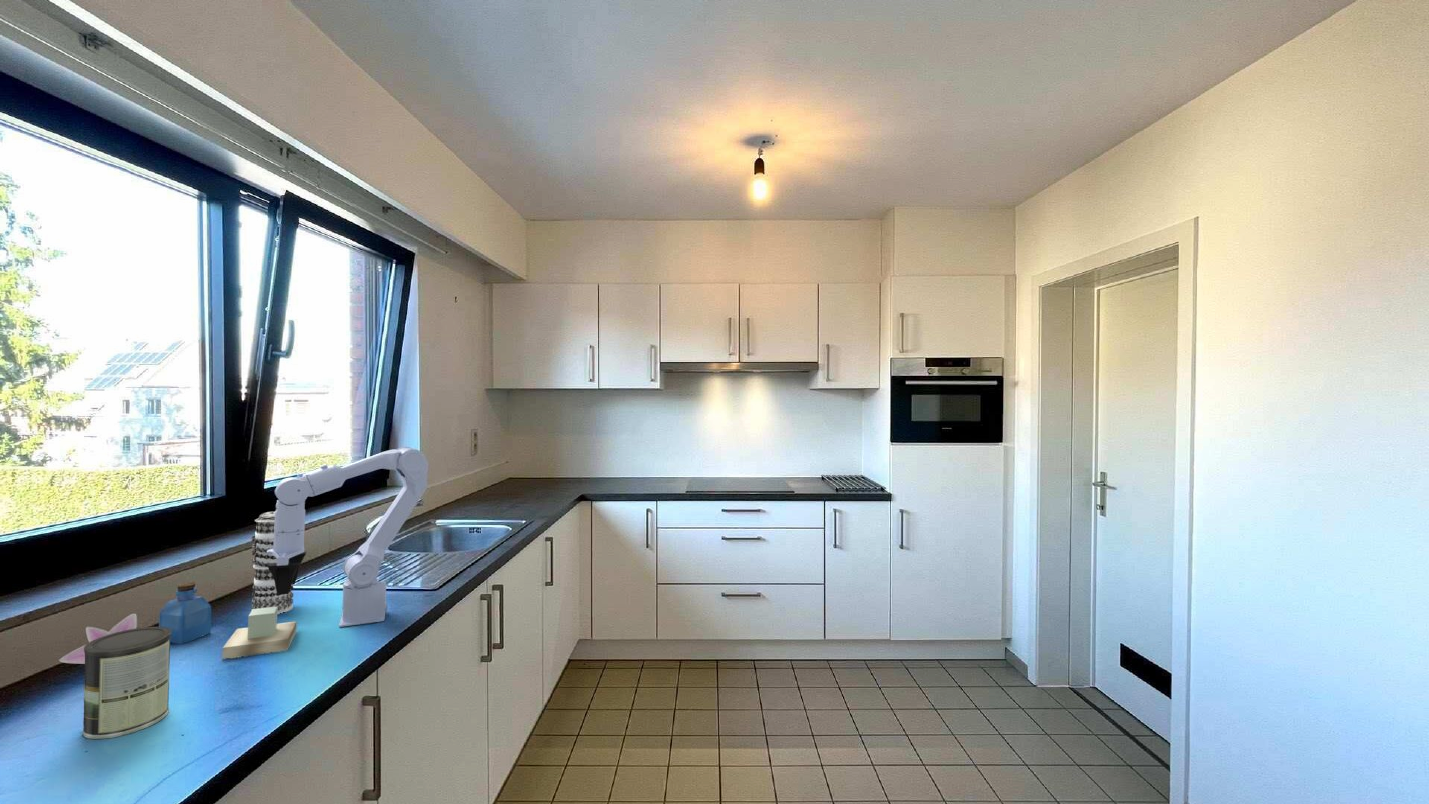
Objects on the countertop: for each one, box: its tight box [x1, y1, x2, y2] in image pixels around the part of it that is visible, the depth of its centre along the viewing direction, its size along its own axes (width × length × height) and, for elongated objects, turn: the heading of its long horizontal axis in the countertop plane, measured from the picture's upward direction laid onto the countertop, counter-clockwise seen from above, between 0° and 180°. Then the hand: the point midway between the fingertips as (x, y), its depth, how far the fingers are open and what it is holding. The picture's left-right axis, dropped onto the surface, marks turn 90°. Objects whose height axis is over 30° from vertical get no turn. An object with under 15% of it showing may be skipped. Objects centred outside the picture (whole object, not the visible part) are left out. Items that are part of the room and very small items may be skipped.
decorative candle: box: [251, 510, 294, 615], centre depth 148 cm, size 9×9×25 cm
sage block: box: [247, 606, 278, 639], centre depth 128 cm, size 4×4×5 cm
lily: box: [58, 613, 138, 665], centre depth 114 cm, size 12×12×10 cm
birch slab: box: [222, 621, 298, 660], centre depth 128 cm, size 11×11×3 cm
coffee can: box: [82, 626, 171, 740], centre depth 97 cm, size 10×10×14 cm
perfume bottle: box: [158, 581, 212, 645], centre depth 131 cm, size 6×6×12 cm
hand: (286, 589), depth 134 cm, fingers open, 7 cm apart
